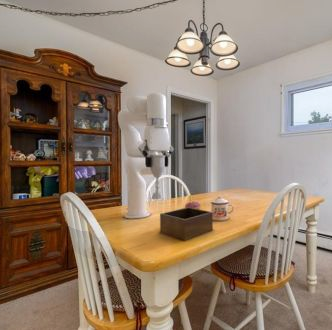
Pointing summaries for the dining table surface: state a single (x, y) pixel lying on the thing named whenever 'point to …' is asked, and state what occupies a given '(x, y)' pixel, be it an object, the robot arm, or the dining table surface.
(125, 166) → the robot arm
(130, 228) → the dining table surface
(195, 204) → the red onion
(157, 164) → the chalice
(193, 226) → the crate
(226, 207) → the teacup with lid
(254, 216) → the dining table surface
